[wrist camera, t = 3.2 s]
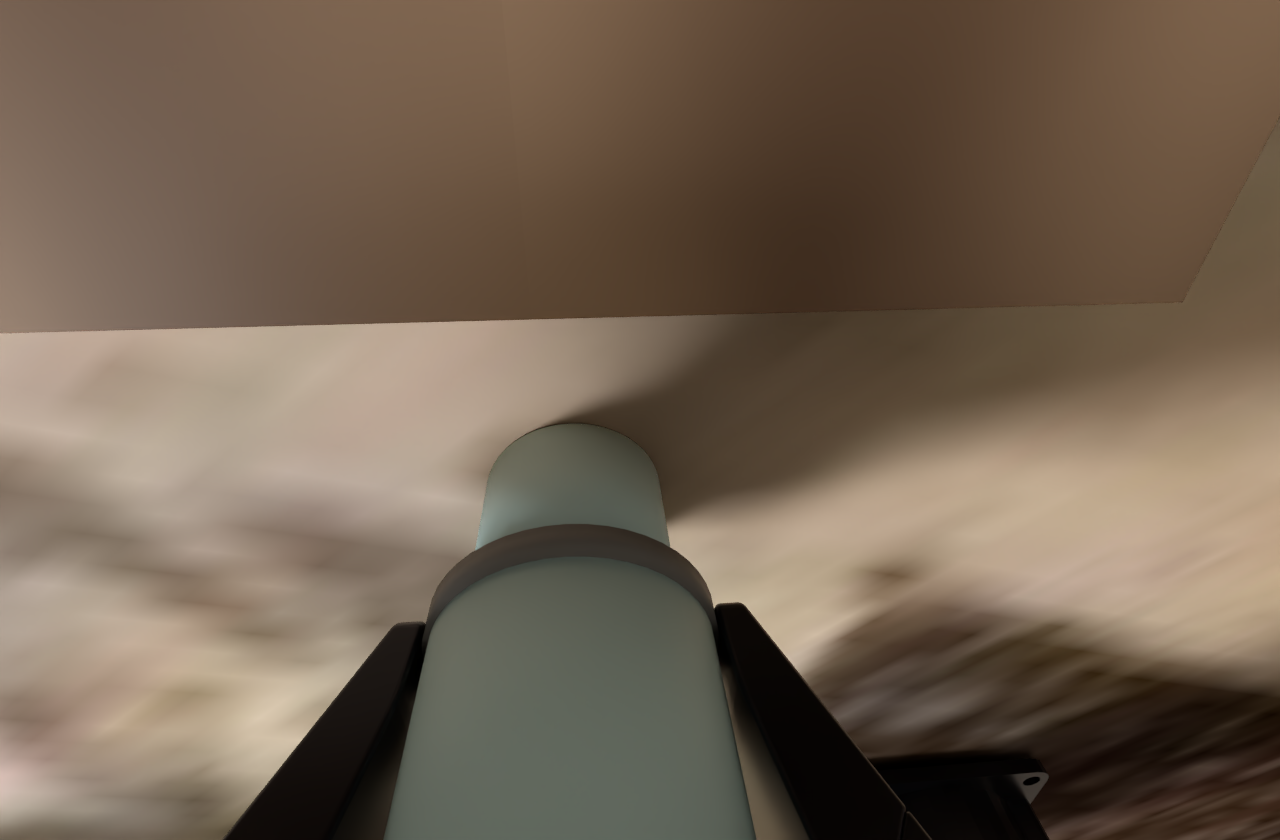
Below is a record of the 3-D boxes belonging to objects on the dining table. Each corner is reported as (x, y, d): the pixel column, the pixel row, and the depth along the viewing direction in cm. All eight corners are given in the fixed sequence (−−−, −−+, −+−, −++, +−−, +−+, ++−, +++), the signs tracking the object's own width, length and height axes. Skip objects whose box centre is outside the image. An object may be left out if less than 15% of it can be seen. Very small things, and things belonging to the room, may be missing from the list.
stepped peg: (690, 395, 11) (864, 1023, 4) (680, 566, 13) (782, 1141, 7) (443, 404, 11) (223, 1094, 4) (476, 576, 13) (371, 1191, 6)
